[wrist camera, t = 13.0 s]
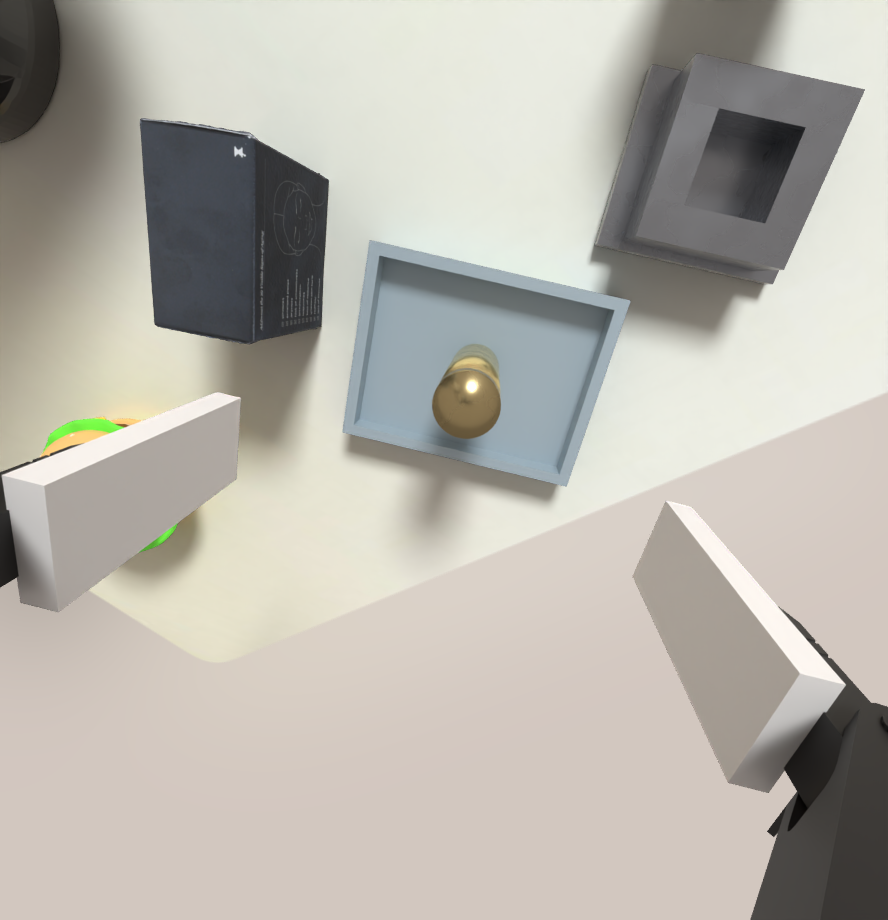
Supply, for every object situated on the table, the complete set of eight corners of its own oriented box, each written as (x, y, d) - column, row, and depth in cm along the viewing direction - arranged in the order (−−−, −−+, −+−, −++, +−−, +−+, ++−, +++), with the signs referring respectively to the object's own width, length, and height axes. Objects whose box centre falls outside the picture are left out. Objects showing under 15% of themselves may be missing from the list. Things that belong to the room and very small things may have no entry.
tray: (351, 423, 39) (342, 432, 37) (378, 243, 34) (369, 240, 32) (562, 474, 39) (566, 486, 36) (621, 299, 34) (630, 300, 31)
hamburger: (185, 548, 46) (118, 605, 38) (71, 484, 44) (-23, 529, 36) (230, 452, 41) (166, 492, 33) (105, 378, 40) (8, 402, 32)
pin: (446, 385, 36) (425, 429, 25) (457, 338, 35) (440, 363, 24) (492, 396, 36) (491, 445, 25) (504, 350, 35) (508, 380, 24)
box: (241, 162, 33) (134, 112, 24) (331, 176, 33) (261, 131, 23) (241, 316, 37) (150, 328, 27) (322, 330, 37) (259, 347, 27)
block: (594, 245, 33) (608, 239, 28) (647, 71, 29) (672, 35, 25) (764, 284, 32) (804, 284, 28) (839, 113, 29) (898, 84, 24)
